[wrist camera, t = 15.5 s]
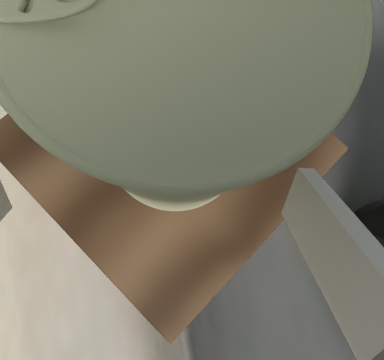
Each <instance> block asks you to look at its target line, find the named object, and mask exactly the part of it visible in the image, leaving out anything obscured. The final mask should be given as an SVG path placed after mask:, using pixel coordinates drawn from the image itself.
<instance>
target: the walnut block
mask: <svg viewBox="0 0 384 360" xmlns="http://www.w3.org/2000/svg"><path fill="white" fill-rule="evenodd" d="M348 149H349V148H348V147H347V146H346V145H345V144H344V143H343V142H342V141H340V140H339V139H338V138H337V137H336V136H335V135H334V134H333V133H331V134H330V135H329V136H328V137H327V138H326V139H325V140H324V141H323V142H322V143H321V144H320V145H318V146H317V147H316V148H315V149H314V150H313V151H312V152H310V153H309V154H308V155H307V156H305V157H304V158H303V159H301V160H300V161H298V162H297V163H295V164H294V165H292V166H291V167H289V168H287V169H285V170H284V171H282V172H280V173H278V174H276V175H274V176H272V177H269V178H267V179H264V180H262V181H259V182H257V183H254V184H251V185H248V186H245V187H242V188H238V189H234V190H230V191H226V192H224V193H222V194H221V195H219V196H218V197H217V198H216V199H214V200H213V201H211V202H209V203H207V204H205V205H203V206H201V207H198V208H195V209H191V210H186V211H165V210H159V209H156V208H153V207H150V206H147V205H145V204H143V203H141V202H139V201H138V200H136V199H135V198H133V197H132V196H131V195H130V194H129V193H128V192H126V191H125V189H123V188H121V187H119V186H116V185H113V184H110V183H107V182H104V181H102V180H99V179H96V178H94V177H91V176H89V175H87V174H85V173H83V172H81V171H79V170H77V169H75V168H72V167H71V166H69V165H68V164H66V163H65V162H63V161H61V160H60V159H58V158H57V157H55V156H54V155H52V154H51V153H49V152H48V151H46V150H45V149H44V148H43V147H41V146H40V145H39V144H37V143H36V142H35V141H34V140H33V139H32V138H31V137H29V136H28V135H27V134H26V133H25V132H24V131H23V130H22V129H21V128H20V127H19V126H18V125H17V124H16V122H15V121H14V120H13V119H12V118H11V117H10V115H9V114H7V115H6V116H4V117H3V118H2V119H0V162H1V163H2V164H3V165H4V166H5V167H6V169H7V170H8V171H9V172H10V173H11V174H12V175H13V176H14V177H15V178H16V179H17V180H18V181H19V183H20V184H21V185H22V186H23V187H24V188H25V189H26V190H27V191H28V192H29V193H30V194H31V195H32V196H33V198H34V199H35V200H36V201H37V202H38V203H39V204H40V205H41V206H42V207H43V208H44V209H45V210H46V212H47V213H48V214H49V215H50V216H51V217H52V218H53V219H54V220H55V221H56V222H57V223H58V224H59V225H60V227H61V228H62V229H63V230H64V231H65V232H66V233H67V234H68V235H69V236H70V237H71V238H72V239H73V241H74V242H75V243H76V244H77V245H78V246H79V247H80V248H81V249H82V250H83V251H84V252H85V253H86V255H87V256H88V257H89V258H90V259H91V260H92V261H93V262H94V263H95V264H96V265H97V266H98V267H99V268H100V270H101V271H102V272H103V273H104V274H105V275H106V276H107V277H108V278H109V279H110V280H111V281H112V282H113V284H114V285H115V286H116V287H117V288H118V289H119V290H120V291H121V292H122V293H123V294H124V295H125V296H126V298H127V299H128V300H129V301H130V302H131V303H132V304H133V305H134V306H135V307H136V308H137V309H138V310H139V311H140V313H141V314H142V315H143V316H144V317H145V318H146V319H147V320H148V321H149V322H150V323H151V324H152V325H153V327H154V328H155V329H156V330H157V331H158V332H159V333H160V334H161V335H162V336H163V337H164V338H165V339H166V341H167V342H168V343H169V344H171V343H172V342H173V341H174V340H175V339H176V338H177V337H178V336H179V334H180V333H181V332H182V331H183V330H184V329H185V328H186V327H187V326H188V325H189V323H190V322H191V321H192V320H193V319H194V318H195V317H196V316H197V315H198V314H199V312H200V311H201V310H202V309H203V308H204V307H205V306H206V305H207V304H208V303H209V301H210V300H211V299H212V298H213V297H214V296H215V295H216V294H217V293H218V292H219V290H220V289H221V288H222V287H223V286H224V285H225V284H226V283H227V282H228V281H229V279H230V278H231V277H232V276H233V275H234V274H235V273H236V272H237V271H238V270H239V268H240V267H241V266H242V265H243V264H244V263H245V262H246V261H247V260H248V259H249V257H250V256H251V255H252V254H253V253H254V252H255V251H256V250H257V249H258V248H259V246H260V245H261V244H262V243H263V242H264V241H265V240H266V239H267V238H268V237H269V235H270V234H271V233H272V232H273V231H274V230H275V229H276V228H277V227H278V226H279V224H280V223H281V222H282V221H283V220H284V218H283V216H282V214H281V213H282V210H283V207H284V204H285V202H286V199H287V196H288V194H289V191H290V188H291V186H292V183H293V180H294V177H295V175H296V172H297V169H298V168H314V169H315V170H316V171H317V172H318V173H319V174H320V176H321V177H323V176H324V175H325V174H326V173H327V172H328V171H329V169H330V168H331V167H332V166H333V165H334V164H335V163H336V162H337V161H338V160H339V158H340V157H341V156H342V155H343V154H344V153H345V152H346V151H347V150H348Z"/></svg>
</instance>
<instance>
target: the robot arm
mask: <svg viewBox="0 0 384 360" xmlns="http://www.w3.org/2000/svg"><path fill="white" fill-rule="evenodd" d="M11 208H12V205H11V203H10V201H9V199H8V197H7V194H6V192H5V190H4V188H3V185H2V183H1V181H0V221H1V220H2V219H3V218H4V217H5V215H6V214H7V213H8V212H9V211H10V210H11ZM281 214H282V216H283V218H284V220H285V222H286V224H287V226H288V228H289V230H290V232H291V234H292V236H293V237H294V239H295V241H296V243H297V245H298V247H299V249H300V251H301V253H302V255H303V257H304V259H305V261H306V263H307V265H308V267H309V268H310V270H311V272H312V274H313V276H314V278H315V280H316V282H317V284H318V286H319V288H320V290H321V292H322V294H323V296H324V298H325V300H326V301H327V303H328V305H329V307H330V309H331V311H332V313H333V315H334V317H335V319H336V321H337V323H338V325H339V327H340V329H341V331H342V332H343V334H344V336H345V338H346V340H347V342H348V344H349V346H350V348H351V350H352V352H353V354H354V356H355V358H356V360H384V200H383V201H378V202H375V203H372V204H369V205H367V206H365V207H363V208H362V209H360V210H359V211H357V212H356V213H355V214H354V213H353V212H352V211H351V210H350V209H349V207H348V206H347V205H346V204H345V203H344V202H343V201H342V199H341V198H340V197H339V196H338V195H337V194H336V193H335V191H334V190H333V189H332V188H331V187H330V186H329V185H328V184H327V182H326V181H325V180H324V179H323V178H322V177H321V176H320V174H319V173H318V172H317V171H316V170H315V169H314V168H298V169H297V172H296V175H295V177H294V180H293V183H292V186H291V188H290V191H289V194H288V196H287V199H286V202H285V204H284V207H283V210H282V213H281Z"/></svg>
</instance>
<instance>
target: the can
mask: <svg viewBox="0 0 384 360" xmlns="http://www.w3.org/2000/svg"><path fill="white" fill-rule="evenodd" d="M372 37H373V18H372V5H371V0H0V104H1V106H2V107H3V108H4V110H5V111H6V112H7V113H8V114H9V115H10V117H11V118H12V119H13V120H14V121H15V122H16V124H17V125H18V126H19V127H20V128H21V129H22V130H23V131H24V132H25V133H26V134H27V135H28V136H29V137H31V138H32V139H33V140H34V141H35V142H36V143H37V144H39V145H40V146H41V147H43V148H44V149H45V150H46V151H48V152H49V153H51V154H52V155H54V156H55V157H57V158H58V159H60V160H61V161H63V162H65V163H66V164H68V165H69V166H71V167H72V168H75V169H77V170H79V171H81V172H83V173H85V174H87V175H89V176H91V177H94V178H96V179H99V180H102V181H104V182H107V183H110V184H113V185H116V186H119V187H121V188H123V189H125V191H126V192H128V193H129V194H130V195H131V196H132V197H133V198H135V199H136V200H138V201H139V202H141V203H143V204H145V205H147V206H150V207H153V208H156V209H159V210H165V211H186V210H191V209H195V208H198V207H201V206H203V205H205V204H207V203H209V202H211V201H213V200H214V199H216V198H217V197H218V196H219V195H221V194H222V193H224V192H226V191H230V190H234V189H238V188H242V187H245V186H248V185H251V184H254V183H257V182H259V181H262V180H264V179H267V178H269V177H272V176H274V175H276V174H278V173H280V172H282V171H284V170H285V169H287V168H289V167H291V166H292V165H294V164H295V163H297V162H298V161H300V160H301V159H303V158H304V157H305V156H307V155H308V154H309V153H310V152H312V151H313V150H314V149H315V148H316V147H317V146H318V145H320V144H321V143H322V142H323V141H324V140H325V139H326V138H327V137H328V136H329V135H330V134H331V133H332V132H333V130H334V129H335V128H336V127H337V126H338V124H339V123H340V122H341V121H342V119H343V118H344V116H345V115H346V113H347V112H348V110H349V109H350V107H351V105H352V103H353V101H354V99H355V98H356V96H357V94H358V92H359V90H360V87H361V84H362V81H363V79H364V76H365V73H366V70H367V67H368V62H369V57H370V52H371V47H372Z"/></svg>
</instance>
